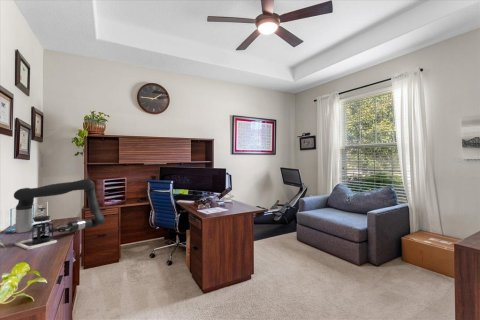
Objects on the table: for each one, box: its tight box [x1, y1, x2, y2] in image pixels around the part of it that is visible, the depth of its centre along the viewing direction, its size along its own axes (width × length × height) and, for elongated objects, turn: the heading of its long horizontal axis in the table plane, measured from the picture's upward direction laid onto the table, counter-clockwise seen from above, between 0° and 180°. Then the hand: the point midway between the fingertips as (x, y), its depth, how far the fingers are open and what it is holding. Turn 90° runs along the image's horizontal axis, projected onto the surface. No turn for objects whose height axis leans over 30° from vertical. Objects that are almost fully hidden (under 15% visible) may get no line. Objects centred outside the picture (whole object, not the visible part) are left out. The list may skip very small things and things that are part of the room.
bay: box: [14, 238, 58, 250], centre depth 153 cm, size 18×16×1 cm
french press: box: [31, 207, 55, 246], centre depth 155 cm, size 12×9×23 cm
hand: (49, 231), depth 159 cm, fingers closed
